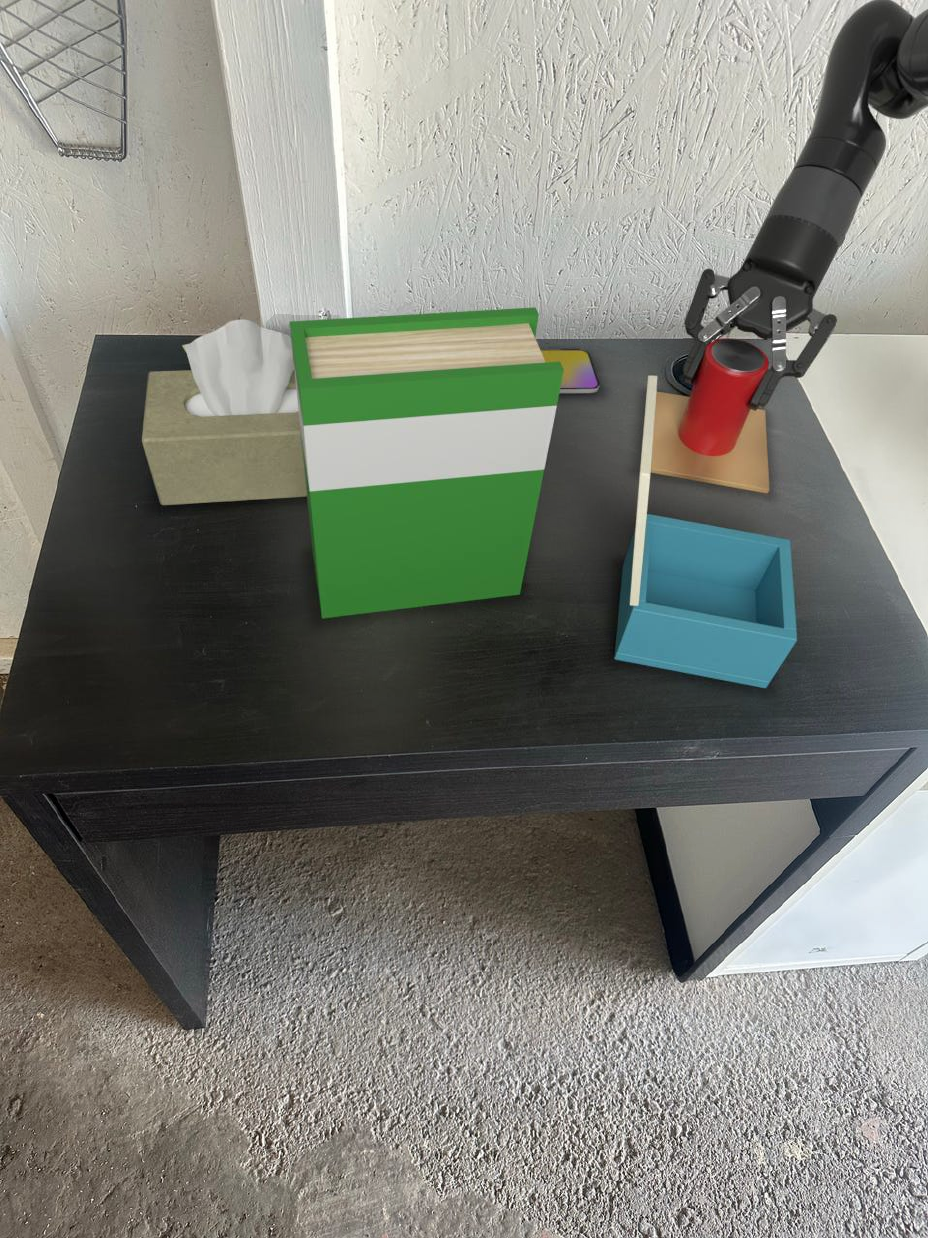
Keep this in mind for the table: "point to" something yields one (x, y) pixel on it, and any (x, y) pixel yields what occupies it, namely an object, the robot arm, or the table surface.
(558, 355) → the smartphone
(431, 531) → the hardback book
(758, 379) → the drinks can
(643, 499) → the lid
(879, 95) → the robot arm
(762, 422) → the cork mat
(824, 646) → the table surface
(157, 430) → the tissue box
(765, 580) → the teal open box
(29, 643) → the table surface
